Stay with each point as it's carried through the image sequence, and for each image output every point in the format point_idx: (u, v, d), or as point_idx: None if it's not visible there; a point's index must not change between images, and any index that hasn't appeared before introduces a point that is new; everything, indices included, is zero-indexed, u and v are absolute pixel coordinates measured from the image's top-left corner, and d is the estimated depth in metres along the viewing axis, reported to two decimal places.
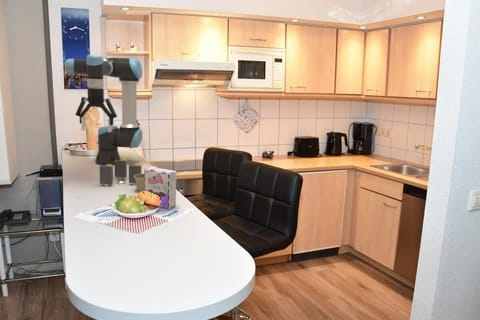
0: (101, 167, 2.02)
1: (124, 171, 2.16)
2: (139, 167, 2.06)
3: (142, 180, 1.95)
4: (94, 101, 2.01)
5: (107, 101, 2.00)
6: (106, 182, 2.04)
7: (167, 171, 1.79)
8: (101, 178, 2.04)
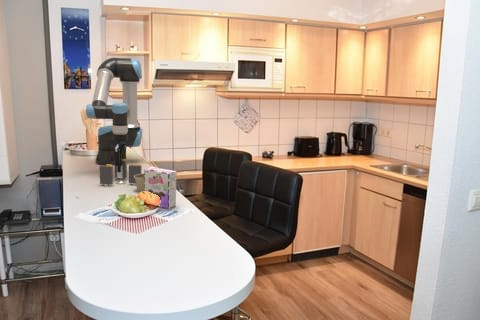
0: (101, 167, 2.02)
1: (124, 171, 2.16)
2: (139, 167, 2.06)
3: (142, 180, 1.95)
4: None
5: None
6: (106, 182, 2.04)
7: (167, 171, 1.79)
8: (101, 178, 2.04)
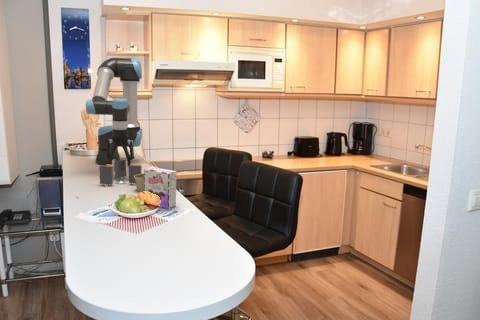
0: (101, 167, 2.02)
1: (125, 170, 2.19)
2: (139, 167, 2.06)
3: (142, 180, 1.95)
4: (119, 140, 2.13)
5: (130, 143, 2.13)
6: (106, 182, 2.04)
7: (167, 171, 1.79)
8: (101, 178, 2.04)
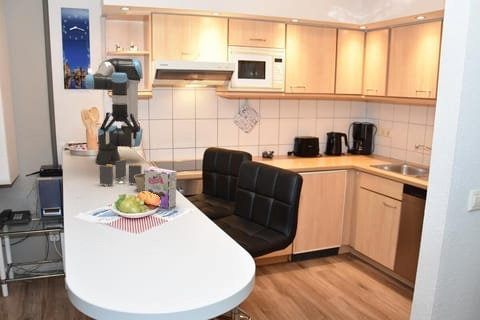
0: (101, 167, 2.02)
1: (125, 170, 2.19)
2: (139, 167, 2.06)
3: (142, 180, 1.95)
4: (118, 116, 2.10)
5: (131, 116, 2.10)
6: (106, 182, 2.04)
7: (167, 171, 1.79)
8: (101, 178, 2.04)
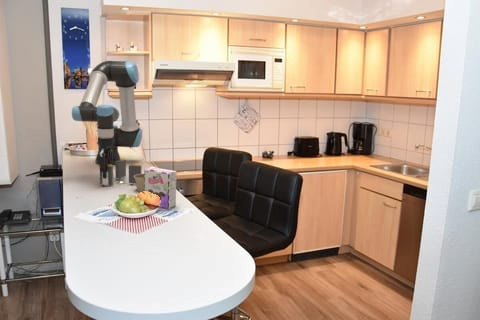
0: None
1: (125, 170, 2.19)
2: (139, 167, 2.06)
3: (142, 180, 1.95)
4: None
5: None
6: None
7: (167, 171, 1.79)
8: (101, 178, 2.04)
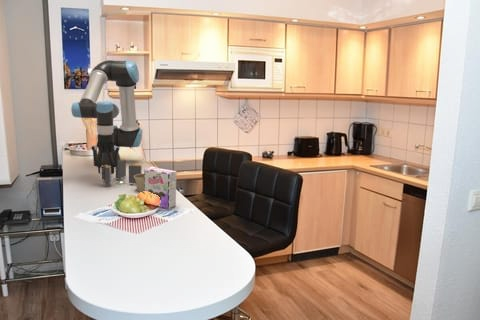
0: (103, 166, 2.05)
1: (125, 170, 2.19)
2: (139, 167, 2.06)
3: (142, 180, 1.95)
4: None
5: None
6: (104, 182, 2.04)
7: (167, 171, 1.79)
8: None
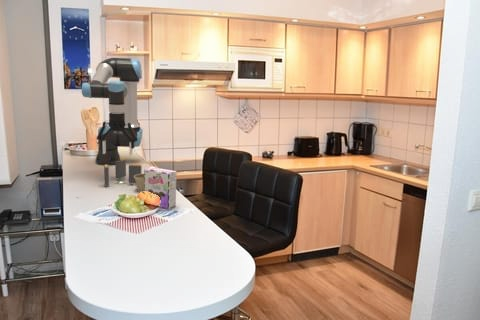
0: (104, 166, 2.05)
1: (125, 170, 2.19)
2: (139, 167, 2.06)
3: (142, 180, 1.95)
4: None
5: None
6: None
7: (167, 171, 1.79)
8: None
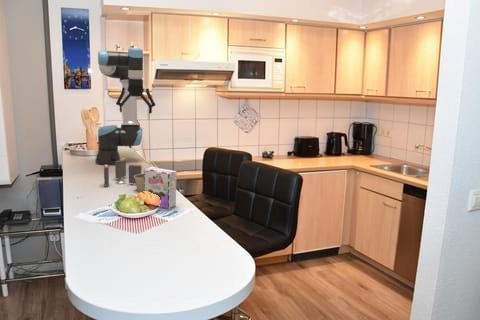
0: (104, 166, 2.05)
1: (125, 170, 2.19)
2: (139, 167, 2.06)
3: (142, 180, 1.95)
4: None
5: None
6: None
7: (167, 171, 1.79)
8: None
